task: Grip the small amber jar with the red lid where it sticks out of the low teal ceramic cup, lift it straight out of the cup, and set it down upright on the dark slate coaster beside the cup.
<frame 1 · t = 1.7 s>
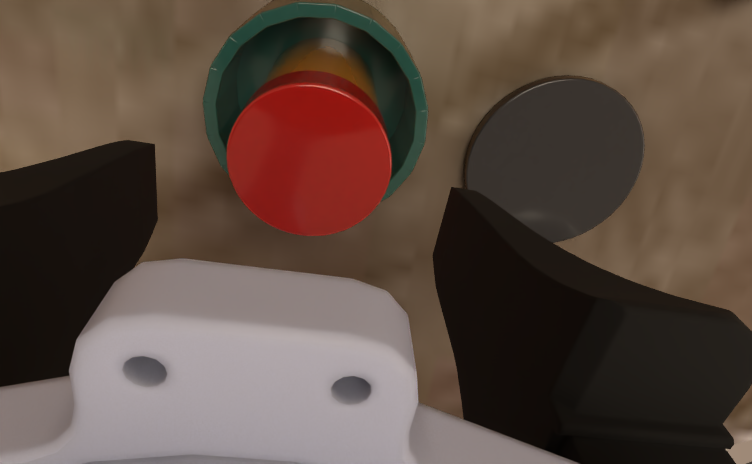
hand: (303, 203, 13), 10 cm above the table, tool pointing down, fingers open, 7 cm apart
cup: (322, 90, 22), on the table
jar: (322, 93, 21), resting on cup
coaster: (550, 163, 24), on the table
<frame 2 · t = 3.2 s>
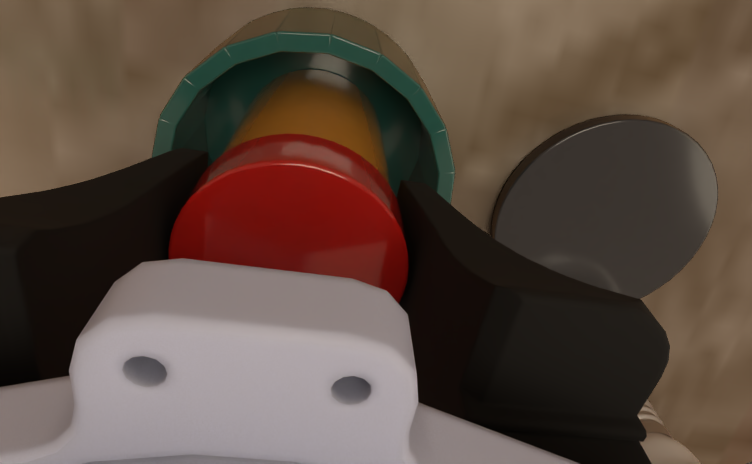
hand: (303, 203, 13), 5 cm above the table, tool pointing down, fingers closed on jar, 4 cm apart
cup: (315, 133, 17), on the table
jar: (313, 138, 17), point 1 cm above the table, touching cup, gripper
lightbulb: (610, 394, 24), on the table
coaster: (598, 219, 19), on the table
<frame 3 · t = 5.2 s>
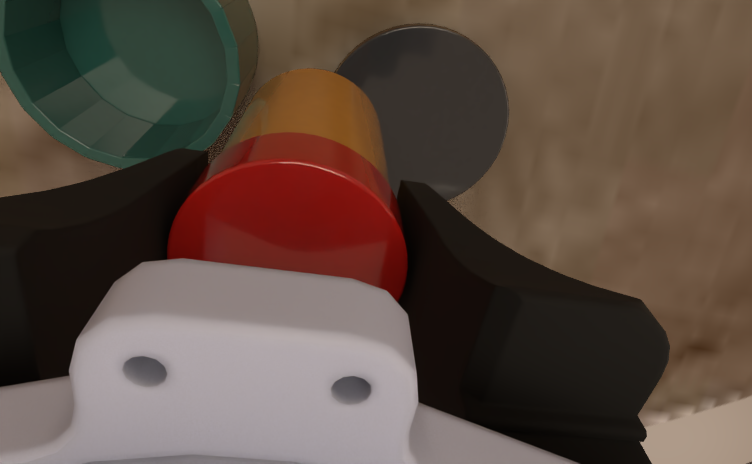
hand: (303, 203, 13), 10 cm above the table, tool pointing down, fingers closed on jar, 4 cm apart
cup: (159, 36, 20), on the table
jar: (312, 137, 17), point 6 cm above the table, touching gripper
coaster: (414, 120, 23), on the table
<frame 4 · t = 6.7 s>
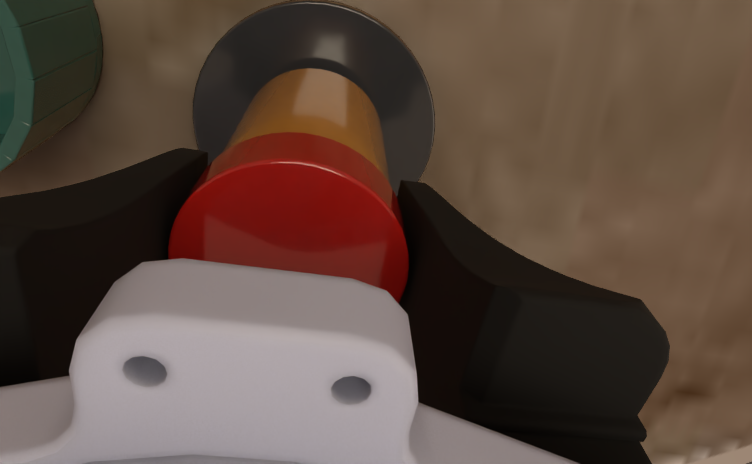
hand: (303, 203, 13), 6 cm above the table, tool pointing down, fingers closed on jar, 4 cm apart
jar: (313, 137, 17), point 1 cm above the table, touching gripper
coaster: (316, 125, 18), on the table
when the fingers open (5 cm above the table, at t = 7.4 s): jar stays where it is, resting on coaster.
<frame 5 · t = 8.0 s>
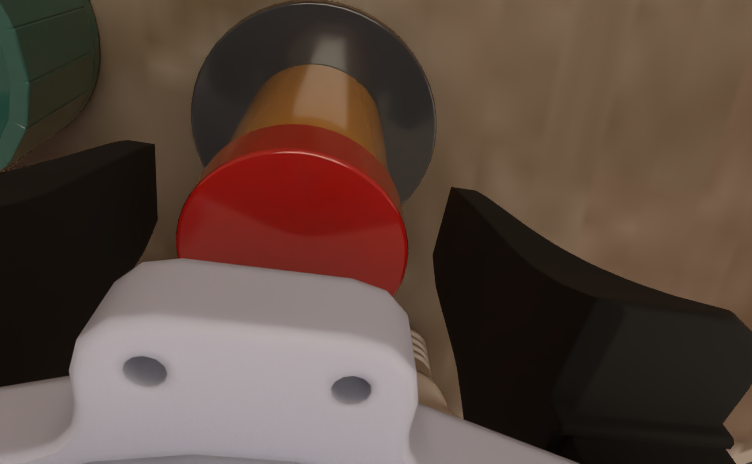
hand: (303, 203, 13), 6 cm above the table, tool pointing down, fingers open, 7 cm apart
jar: (315, 132, 17), point 1 cm above the table, touching coaster
lightbulb: (393, 336, 23), on the table
coaster: (316, 127, 18), on the table
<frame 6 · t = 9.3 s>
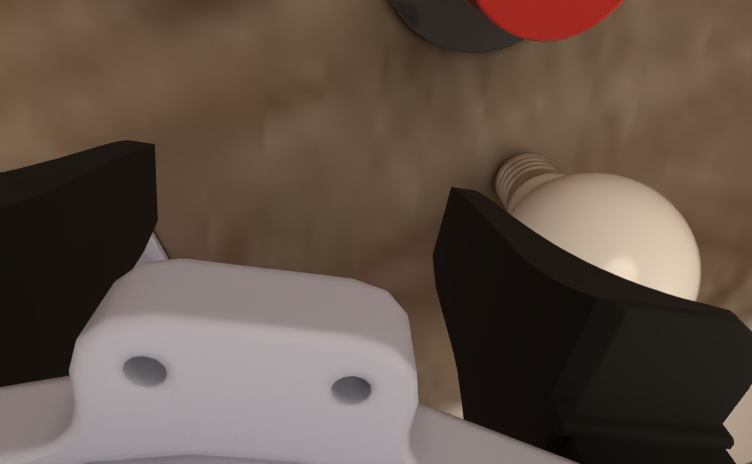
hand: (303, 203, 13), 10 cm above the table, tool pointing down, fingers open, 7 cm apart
lightbulb: (518, 173, 24), on the table
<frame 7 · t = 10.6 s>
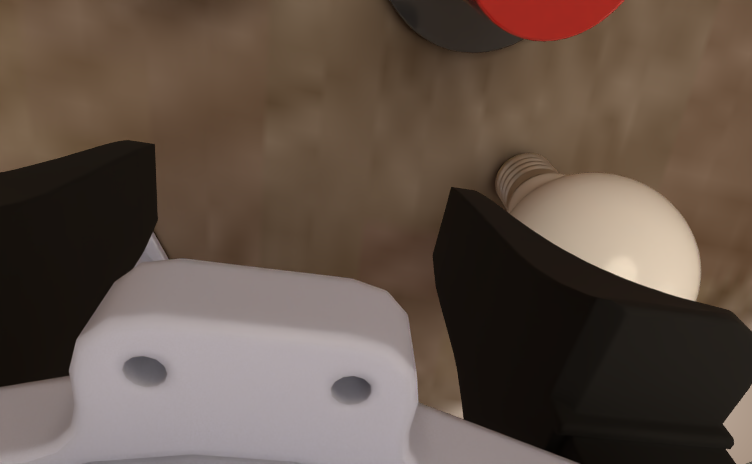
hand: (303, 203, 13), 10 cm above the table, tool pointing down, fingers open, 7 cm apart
lightbulb: (518, 173, 24), on the table
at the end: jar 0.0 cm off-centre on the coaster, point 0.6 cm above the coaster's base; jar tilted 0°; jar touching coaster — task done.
